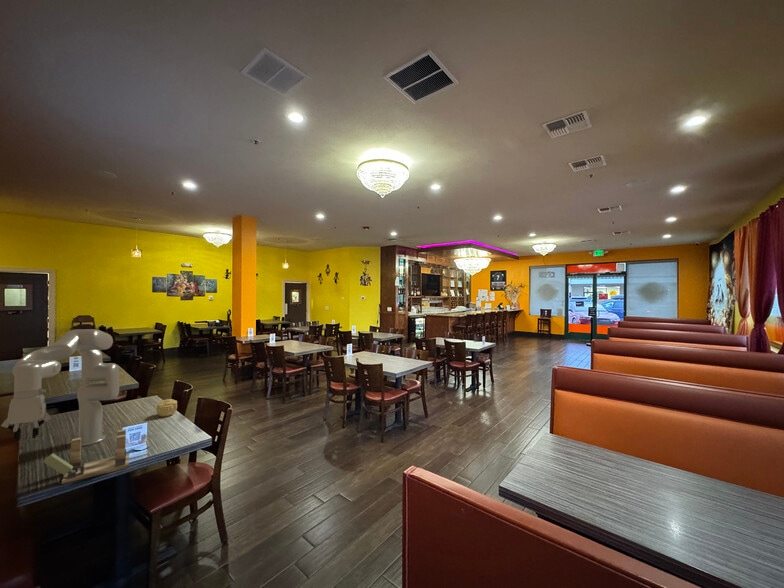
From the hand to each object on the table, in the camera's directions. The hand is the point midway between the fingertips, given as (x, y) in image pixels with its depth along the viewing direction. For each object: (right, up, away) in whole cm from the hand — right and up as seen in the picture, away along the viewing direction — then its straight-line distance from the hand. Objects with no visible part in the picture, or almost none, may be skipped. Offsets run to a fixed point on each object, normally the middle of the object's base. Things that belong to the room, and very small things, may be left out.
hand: (26, 438), depth 133 cm
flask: (+18, -22, +37) cm, 47 cm away
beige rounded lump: (-2, -23, +85) cm, 88 cm away
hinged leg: (+11, -19, +8) cm, 24 cm away
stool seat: (+14, -22, +17) cm, 31 cm away
